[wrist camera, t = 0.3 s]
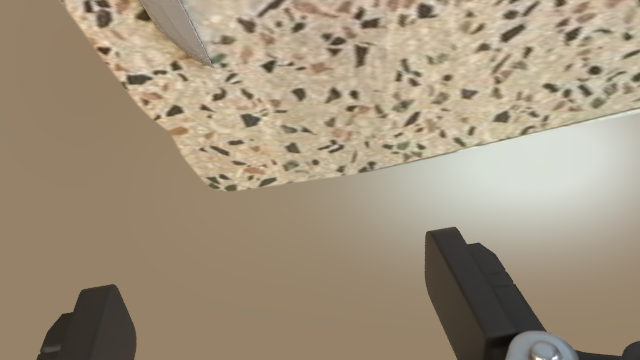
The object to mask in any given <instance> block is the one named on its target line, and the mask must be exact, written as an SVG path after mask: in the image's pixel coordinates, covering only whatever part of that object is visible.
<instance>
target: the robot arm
mask: <svg viewBox="0 0 640 360" xmlns="http://www.w3.org/2000/svg"><path fill="white" fill-rule="evenodd" d="M425 281H426V287H427V290H428V294H429V297H430V299H431V302H432V304H433V306H434V308H435V310H436V313H437V315H438V317H439V319H440V322H441V324H442V326H443V328H444V330H445V333H446V335H447V337H448V339H449V342H450V344H451V346H452V348H453V351H454V353H455V355H456V357H457V360H640V341H638V342H634V343H632V344H630V345H629V346H627V347H626V349H625V350H624V352H623V354H622V356H614V355H603V354H593V353H585V352H580V351H577V350H574V349H573V348H572V346H571V345H570V344H568V343H567V342H566V341H565V340H563V339H562V338H560V337H558V336H556V335H554V334H551V333H548V332H547V331H546V330H545V329H544V327H543V326H542V324H541V323H540V321H539V320H538V318H537V317H536V315H535V314H534V312H533V311H532V309H531V307H530V306H529V304H528V303H527V301H526V300H525V299H524V297H523V295H522V294H521V292H520V291H519V289H518V288H517V286H516V285H515V284H513V280H512V279H511V277H510V276H509V274H508V273H507V272H506V271H505V268H504V267H503V265H502V264H501V262H500V261H499V259H498V258H497V256H496V255H495V254H494V253H493V252H491V251H490V250H489V249H487V248H486V247H484V246H483V245H481V244H480V243H474V244H468V245H467V244H466V242H465V240H464V239H463V237H462V235H461V234H460V232H459V230H458V229H457V228H456V227H450V228H444V229H439V230H433V231H428V232H426V237H425ZM40 352H41V353H40V354H39V355H38V357H37V360H134V357H135V352H136V332H135V328H134V324H133V322H132V320H131V318H130V315H129V313H128V310H127V308H126V306H125V304H124V302H123V299H122V297H121V294H120V292H119V290H118V288H117V286H116V285H114V284H112V285H106V286H100V287H94V288H88V289H83V290H82V291H81V292H80V294H79V297H78V300H77V303H76V305H75V308H74V311H73V312H71V313H66V314H62V315H61V317H60V318H59V319H58V320H57V321H56V322H55V323H54V325H53V326H52V327H51V328H50V330H49V331H48V332H47V334H46V337H45V339H44V342H43V345H42V347H41V350H40Z"/></svg>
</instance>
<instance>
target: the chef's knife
mask: <svg viewBox="0 0 640 360" xmlns="http://www.w3.org/2000/svg"><path fill="white" fill-rule="evenodd" d="M139 1H140V2H141V4H142V6H143V7H144V9H145V10H146V12H147V13H148V15H149V16H150V18H151V19H152V21H153V22H154V23H155V25H156V26H157V27H158V28H159V29H160V30H161V32H162V33H163V34H164V35H165V36H166V37H167V38H169V39H170V40H171V41H172V42H174V43H175V44H176V45H177V46H178V47H180V48H181V49H182V50H183V51H185V52H186V53H187V54H188V55H189V56H191V57H192V58H193V59H195V60H197V61H199V62H201V63H203V64H206V65H208V66H210V67H212V68H214V67H213V65H212V63H211V61H210V59H209V57H208V55H207V53H206V51H205V49H204V47H203V45H202V43H201V41H200V39H199V37H198V35H197V33H196V31H195V29H194V27H193V25H192V23H191V21H190V19H189V17H188V15H187V14H186V12H185V10H184V8H183V6H182V4H181V2H180V0H139Z"/></svg>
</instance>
